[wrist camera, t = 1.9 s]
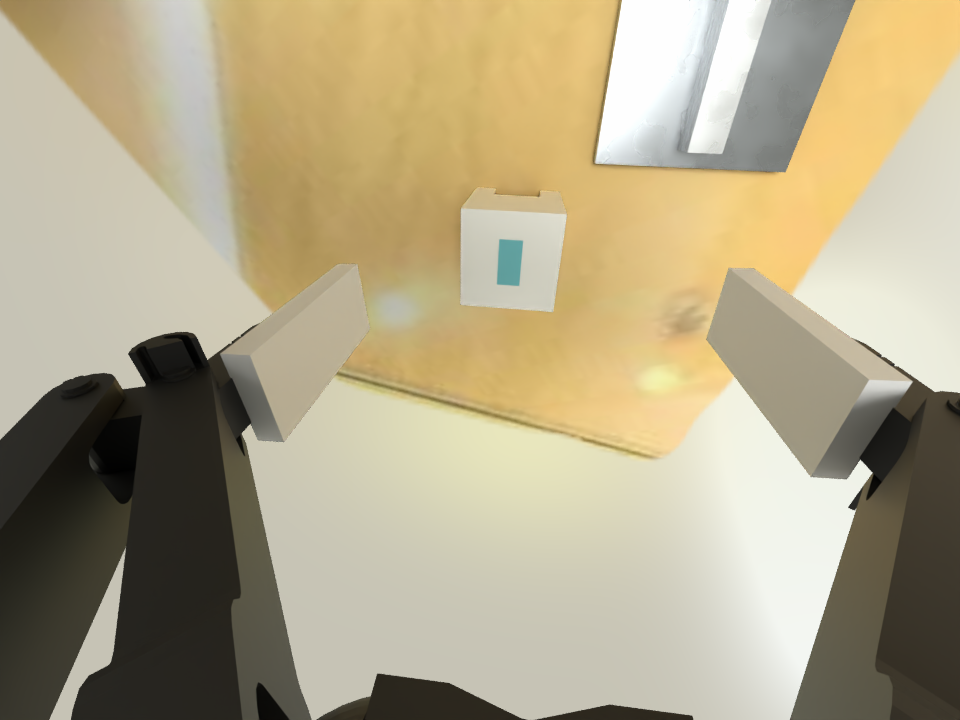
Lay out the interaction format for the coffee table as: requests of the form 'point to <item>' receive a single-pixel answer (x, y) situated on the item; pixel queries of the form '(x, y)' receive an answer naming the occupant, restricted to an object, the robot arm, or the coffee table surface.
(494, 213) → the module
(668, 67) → the rail plate
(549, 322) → the coffee table surface
